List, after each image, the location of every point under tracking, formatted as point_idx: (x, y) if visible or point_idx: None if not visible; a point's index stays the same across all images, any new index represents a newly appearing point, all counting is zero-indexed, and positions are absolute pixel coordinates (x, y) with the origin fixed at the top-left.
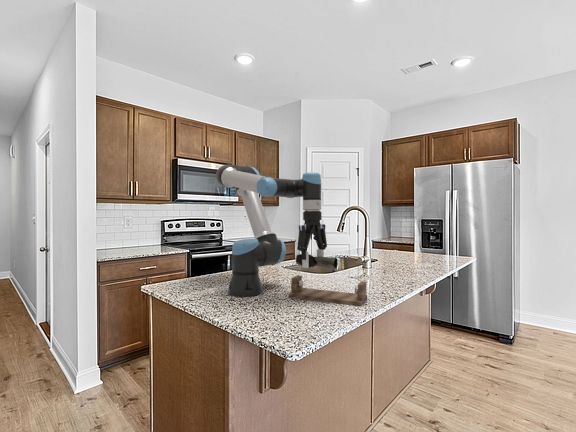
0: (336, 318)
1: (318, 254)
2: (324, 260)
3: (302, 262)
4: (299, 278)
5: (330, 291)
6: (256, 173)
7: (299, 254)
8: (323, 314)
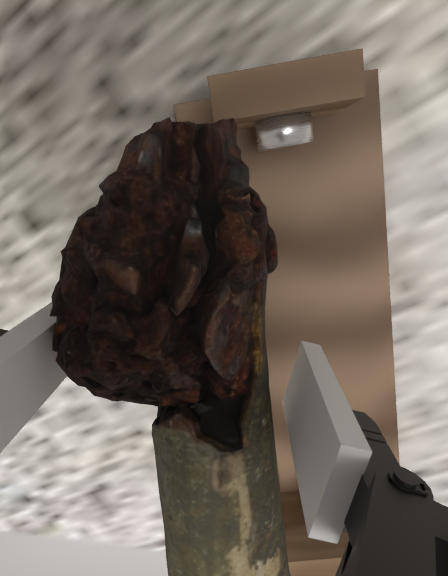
0: (30, 476)
1: (313, 428)
2: (166, 530)
3: (51, 304)
4: (303, 109)
5: (373, 313)
6: None
7: (106, 215)
8: (37, 416)
